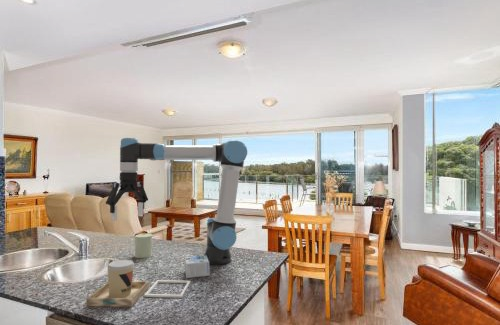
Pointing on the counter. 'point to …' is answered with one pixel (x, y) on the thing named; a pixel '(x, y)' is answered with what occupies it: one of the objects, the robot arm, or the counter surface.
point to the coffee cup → (120, 278)
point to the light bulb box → (196, 266)
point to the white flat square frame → (167, 294)
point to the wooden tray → (103, 298)
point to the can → (143, 245)
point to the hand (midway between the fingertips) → (127, 218)
